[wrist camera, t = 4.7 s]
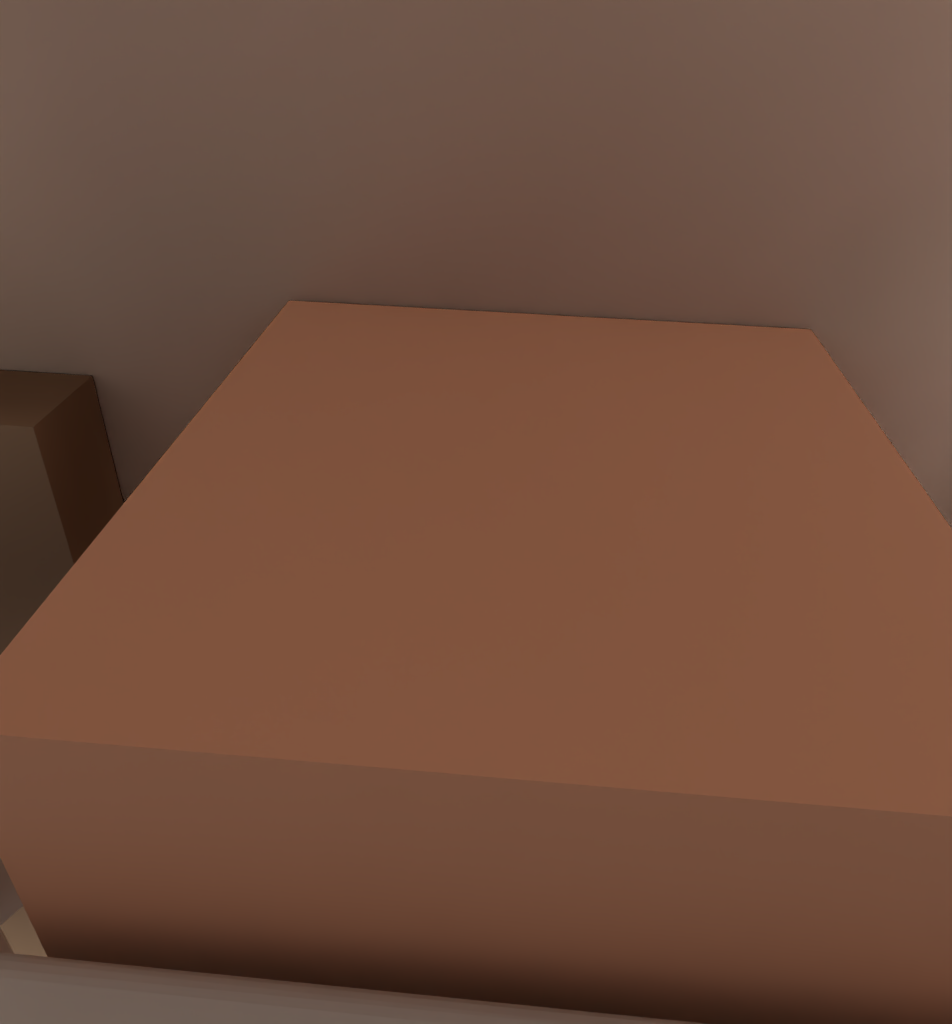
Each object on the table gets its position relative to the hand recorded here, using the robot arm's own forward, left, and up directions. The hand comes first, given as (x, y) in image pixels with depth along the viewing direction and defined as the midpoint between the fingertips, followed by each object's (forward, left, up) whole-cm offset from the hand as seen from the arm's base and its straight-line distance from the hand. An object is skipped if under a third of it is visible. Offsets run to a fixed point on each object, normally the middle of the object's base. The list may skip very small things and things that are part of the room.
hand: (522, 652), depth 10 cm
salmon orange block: (0, 0, -3) cm, 3 cm away
